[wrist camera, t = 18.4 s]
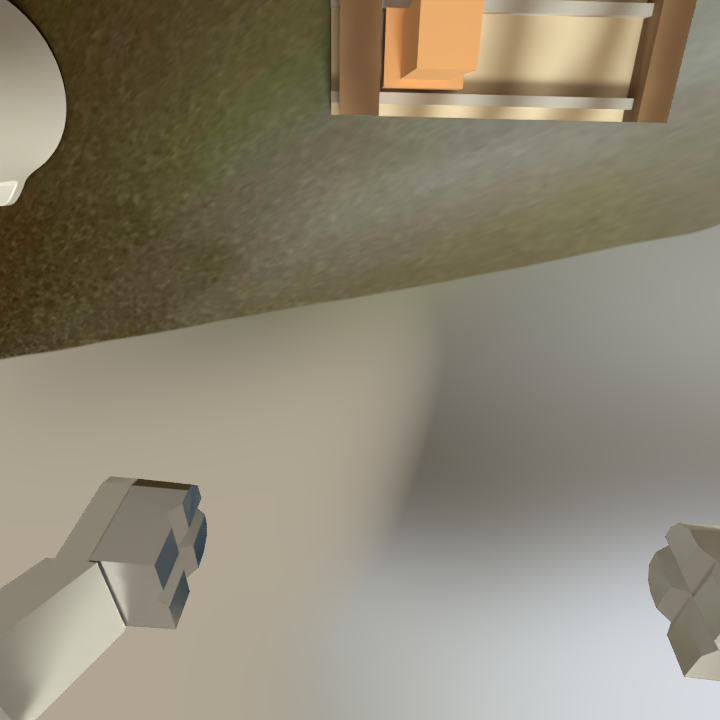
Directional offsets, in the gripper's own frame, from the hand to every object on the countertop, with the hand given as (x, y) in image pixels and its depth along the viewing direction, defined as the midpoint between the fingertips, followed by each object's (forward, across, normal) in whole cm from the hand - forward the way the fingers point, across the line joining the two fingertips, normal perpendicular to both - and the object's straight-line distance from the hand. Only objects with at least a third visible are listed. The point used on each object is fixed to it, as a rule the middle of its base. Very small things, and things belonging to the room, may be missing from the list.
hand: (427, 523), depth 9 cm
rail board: (+44, +7, +3) cm, 45 cm away
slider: (+42, 0, +4) cm, 42 cm away
